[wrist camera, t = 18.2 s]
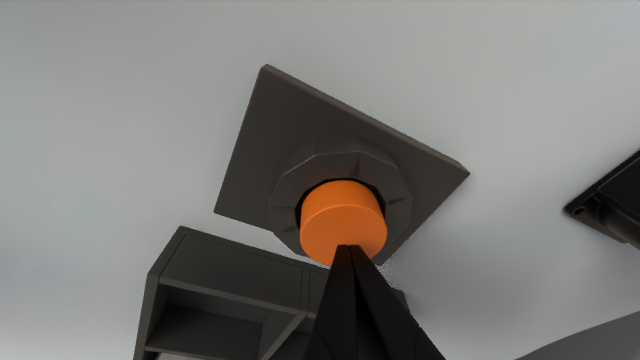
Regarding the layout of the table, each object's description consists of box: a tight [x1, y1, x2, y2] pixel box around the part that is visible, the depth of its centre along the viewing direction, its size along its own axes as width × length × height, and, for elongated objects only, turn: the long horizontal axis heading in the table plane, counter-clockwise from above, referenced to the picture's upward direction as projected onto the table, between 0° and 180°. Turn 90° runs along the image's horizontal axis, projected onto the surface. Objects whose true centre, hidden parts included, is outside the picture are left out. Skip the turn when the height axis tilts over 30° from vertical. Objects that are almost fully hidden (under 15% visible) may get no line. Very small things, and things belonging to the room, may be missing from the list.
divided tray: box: [133, 226, 410, 360], centre depth 20 cm, size 18×18×4 cm
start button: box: [300, 180, 387, 266], centre depth 10 cm, size 4×4×2 cm
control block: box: [214, 64, 470, 266], centre depth 12 cm, size 11×8×3 cm
